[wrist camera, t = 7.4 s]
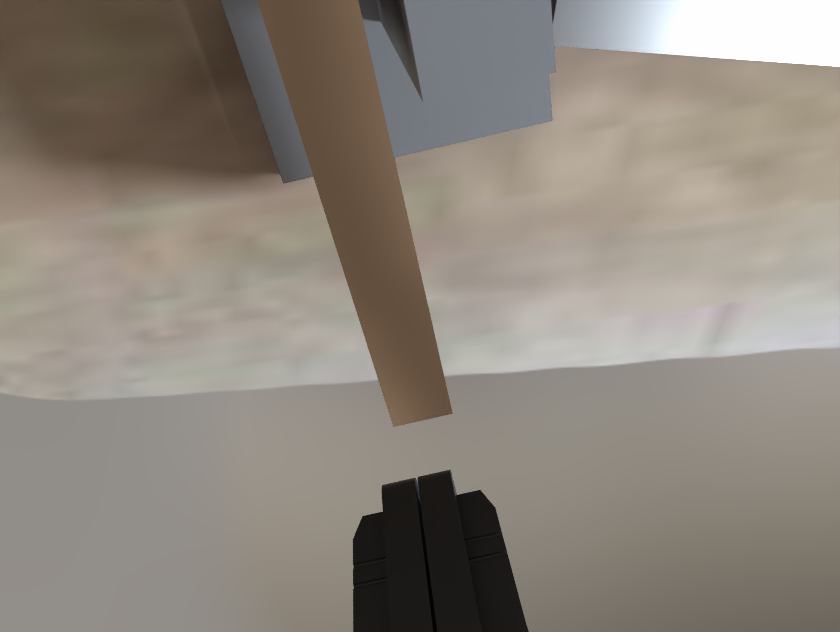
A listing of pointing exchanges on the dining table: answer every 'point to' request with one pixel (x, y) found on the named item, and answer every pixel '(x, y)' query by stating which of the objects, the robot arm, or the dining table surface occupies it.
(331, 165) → the picture frame
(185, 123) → the dining table surface
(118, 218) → the dining table surface
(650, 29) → the play button award
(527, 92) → the display stand
